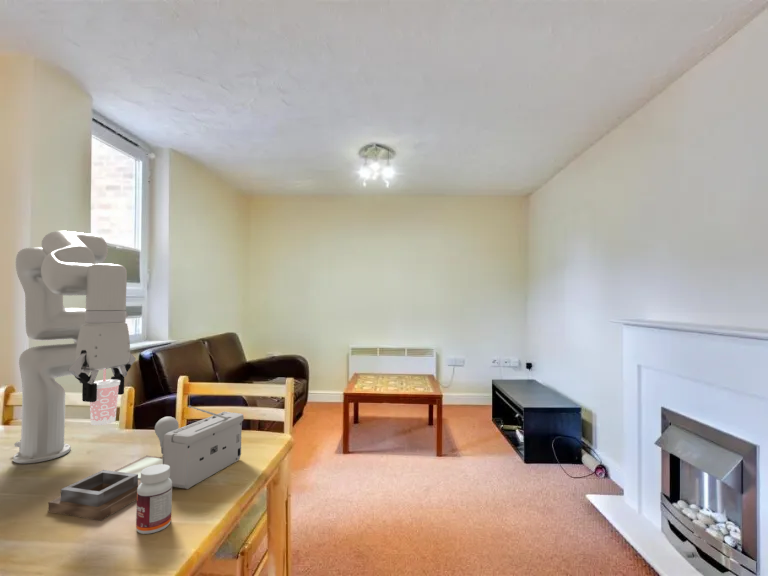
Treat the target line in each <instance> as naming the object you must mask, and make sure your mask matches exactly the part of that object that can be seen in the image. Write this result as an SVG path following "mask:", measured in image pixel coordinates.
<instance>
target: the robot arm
mask: <svg viewBox="0 0 768 576" xmlns="http://www.w3.org/2000/svg"><path fill="white" fill-rule="evenodd" d="M108 252H109V248H108V245H107V242H106V240H105V239H104V238H103V237H102V236H100V235H97V234H94V233H86V232H85V233H84V232H77V231H70V230H68V231H67V230H54V231H51V232H49V233H46V235H44V237H43V238H42V239H41V245H40V246H34V247H33V246H31V247H30V246H29V247H25V248H22V249H20V250H19V251H18V252H17V254H16V257H15V271H16V274H17V277H18V280H19V282H20V285H21V287H22V290H23V291H24V299H25V300H24V301H25V304H24V305H25V310H24V311H25V313H24V314H25V317H24V318H25V331H26V332H25V333H26V335H27V337H28V338H29V339H30V340H32V341H37V342H38V341H41V342H45V341H61V340H72V341H73V342H74V343H63V344H60V343H59V344H57V343H56V344H46V345H45V344H44V345H37V346H32V347H29V348H26V349H25V350H23V351H22V353H21V354H20V355H19V359H18V365H19V372H20V378H21V388H22V389H21V390H22V393H21V394H22V395H21V396H22V399H21V402H22V403H21V429H20V430H21V435H20V437H21V438H20V440H19V441H16V442H15V443H14V447H16V448H19V449H18V450H19V451H18V452H16V453H15V454H14V455H13V456H12V460H13V462H14V463H16V464H36V463H42V462H45V461H50V460H54V459H58V458H59V457H63V456H65V455H66V454H68V453H69V452H70V451H71V448H72V447H71V445H70V444H68V443H65V427H66V426H65V424H66V423H65V421H66V420H65V419H66V390H65V388H64V387H63V386H62V385H61V384H60V383H59V382H58V381H56V378H60V377H68V376H74V378H75V379H77V381H79V383H80V384H82V386H81V387H82V392H81V393H82V395H81V398H82V399H81V400H82V402H86V403H90V402H95V401H96V400H97V383H94V381H96V379H97V375H98V373H99V371H102V370H103V369H106V370H107V369H111V371H112V374H113V376H111V378H110V379H117V380H120V385H119V389H118V396H119V395H124V394H125V377H127V376H128V372H129V371H130V369H131V367H132V365H134V363H135V362H136V360H137V359H136V357H135V356H134V354H132V352H131V343H130V341H131V340H130V332H129V326H128V322H127V323H126V319H127V318H128V317H129V313H128V312H127V282H128V281H127V279H128V278H127V277H128V274H127V273H128V271H127V268H126V267H125V266H124V265H122V264H116V263H115V264H114V263H104V262H105V261H106V258H108ZM64 296H85V308H82V307H65V306H64Z"/></svg>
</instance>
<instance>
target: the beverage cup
mask: <svg viewBox="0 0 768 576" xmlns="http://www.w3.org/2000/svg"><path fill="white" fill-rule="evenodd" d="M102 370H103V373H102V375H103V376H102V379H99V380H98V379H97V380H95V381H94V383H97V400H96V401H95V402H89V416H90V418H89V419H90V425H92V426H104V425H109V424H111V423H114V422H116V417H117V407H118V397H119V394H118V389H119V385H120V380H117V379H111V378H109V379H107V375H106V374H107V369H102Z"/></svg>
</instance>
